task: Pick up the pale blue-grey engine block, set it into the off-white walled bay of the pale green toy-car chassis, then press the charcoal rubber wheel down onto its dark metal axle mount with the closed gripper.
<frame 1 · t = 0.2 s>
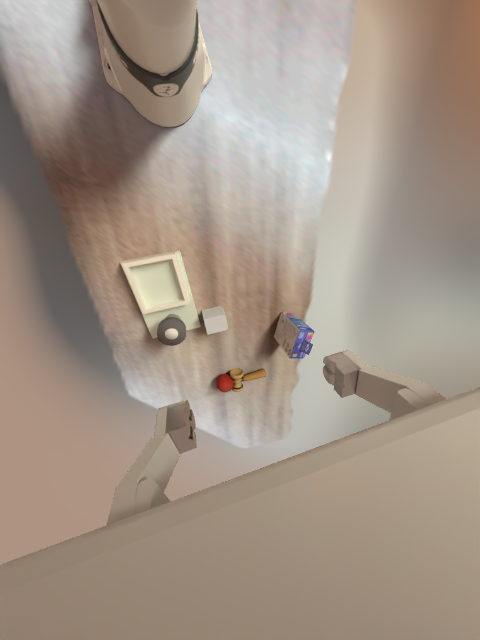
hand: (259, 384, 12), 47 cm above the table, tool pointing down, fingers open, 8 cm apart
kendama: (239, 373, 75), on the table
chassis: (165, 296, 56), on the table
ink cartridge box: (283, 325, 70), on the table
wheel: (171, 331, 53), point 7 cm above the table, slide at 2.5 cm
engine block: (213, 315, 62), on the table
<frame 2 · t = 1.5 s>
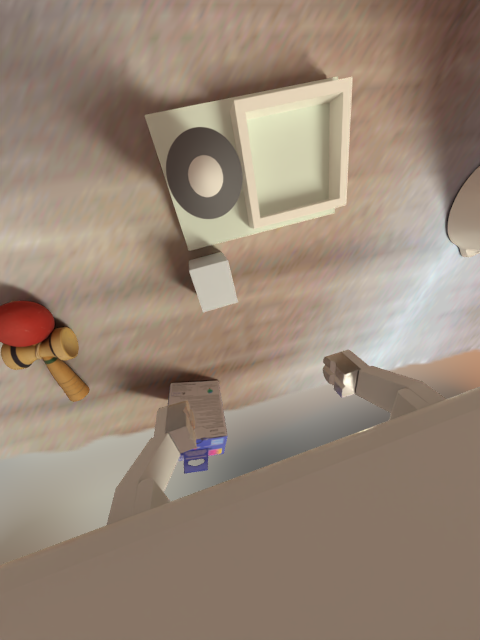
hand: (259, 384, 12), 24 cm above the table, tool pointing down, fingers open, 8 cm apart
kendama: (61, 346, 33), on the table
chassis: (252, 174, 27), on the table
ink cartridge box: (194, 390, 43), on the table
wheel: (205, 178, 20), point 7 cm above the table, slide at 2.5 cm
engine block: (210, 275, 32), on the table
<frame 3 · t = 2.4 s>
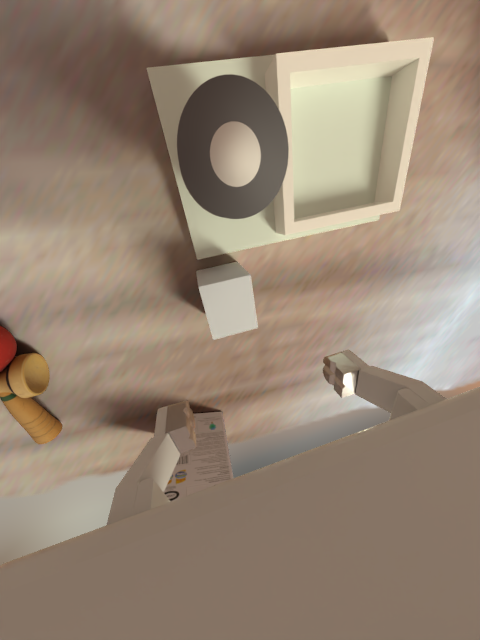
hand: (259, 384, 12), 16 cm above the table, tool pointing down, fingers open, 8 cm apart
kendama: (26, 375, 25), on the table
chassis: (284, 165, 21), on the table
ink cartridge box: (192, 422, 36), on the table
wheel: (232, 160, 14), point 7 cm above the table, slide at 2.5 cm
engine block: (221, 289, 26), on the table
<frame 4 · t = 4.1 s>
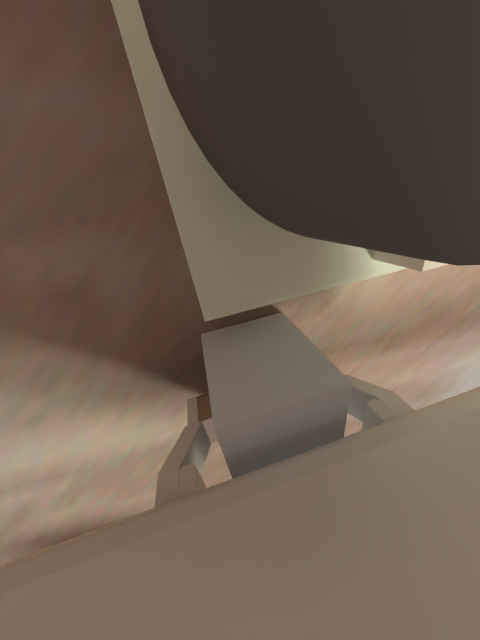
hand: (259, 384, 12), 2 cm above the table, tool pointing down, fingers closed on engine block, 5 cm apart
chassis: (406, 107, 9), on the table
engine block: (249, 361, 14), on the table, touching gripper
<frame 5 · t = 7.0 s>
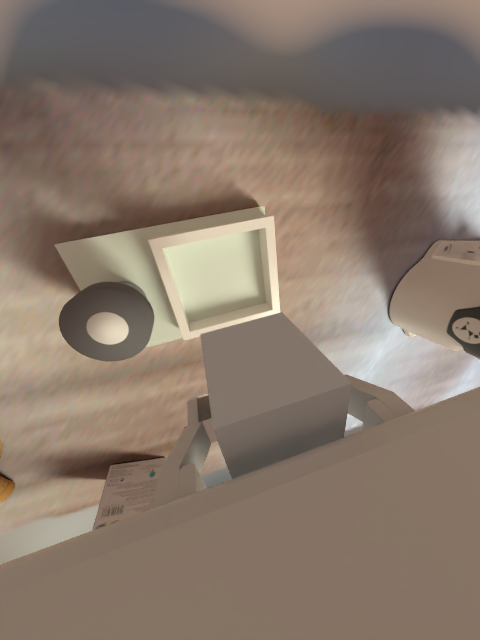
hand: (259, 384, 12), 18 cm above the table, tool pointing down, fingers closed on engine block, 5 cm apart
chassis: (185, 282, 26), on the table
ink cartridge box: (138, 467, 40), on the table
wheel: (112, 322, 19), point 7 cm above the table, slide at 2.5 cm
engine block: (249, 361, 14), point 16 cm above the table, touching gripper
when the fingers open (5 cm above the table, at t = 10.3 s): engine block drops 1 cm, resting on chassis.
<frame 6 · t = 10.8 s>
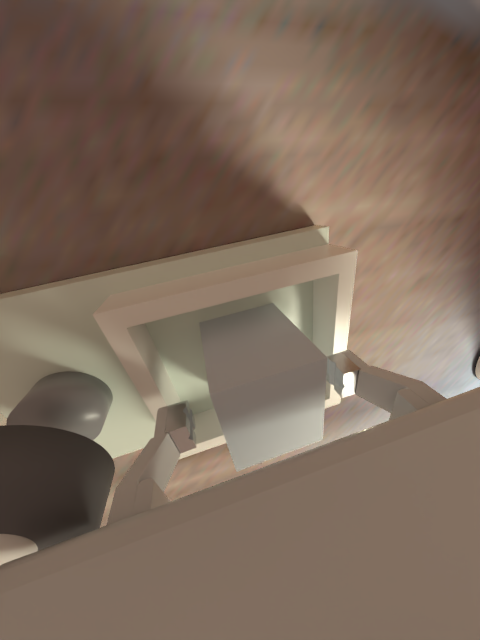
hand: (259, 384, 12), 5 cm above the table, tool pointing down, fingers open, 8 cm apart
chassis: (181, 354, 15), on the table
wheel: (6, 512, 8), point 7 cm above the table, slide at 2.5 cm
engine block: (244, 348, 15), point 1 cm above the table, touching chassis
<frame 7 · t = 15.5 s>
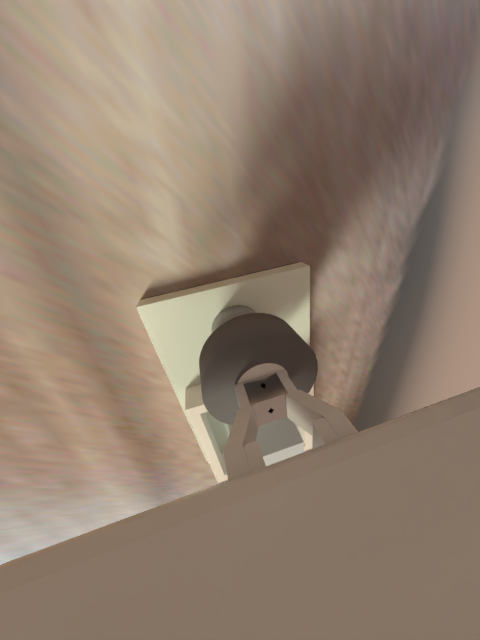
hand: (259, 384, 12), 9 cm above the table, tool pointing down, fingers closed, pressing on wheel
chassis: (244, 375, 23), on the table
wheel: (256, 371, 13), point 7 cm above the table, slide at 2.3 cm, touching gripper
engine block: (253, 412, 23), point 1 cm above the table, touching chassis
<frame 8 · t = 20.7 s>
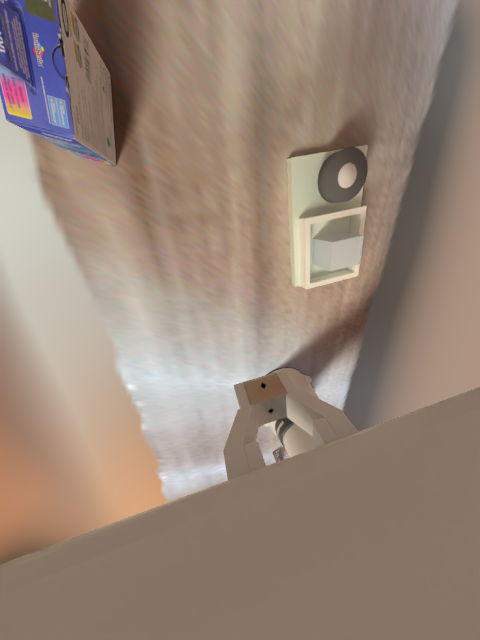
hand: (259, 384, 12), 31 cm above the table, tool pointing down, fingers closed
caliper: (277, 463, 79), on the table
chassis: (322, 223, 40), on the table
ink cartridge box: (90, 116, 27), on the table
wheel: (341, 177, 33), point 5 cm above the table, slide at -0.1 cm, touching chassis
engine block: (326, 248, 41), point 1 cm above the table, touching chassis
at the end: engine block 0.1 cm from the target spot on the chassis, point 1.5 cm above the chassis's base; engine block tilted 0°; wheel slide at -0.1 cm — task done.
